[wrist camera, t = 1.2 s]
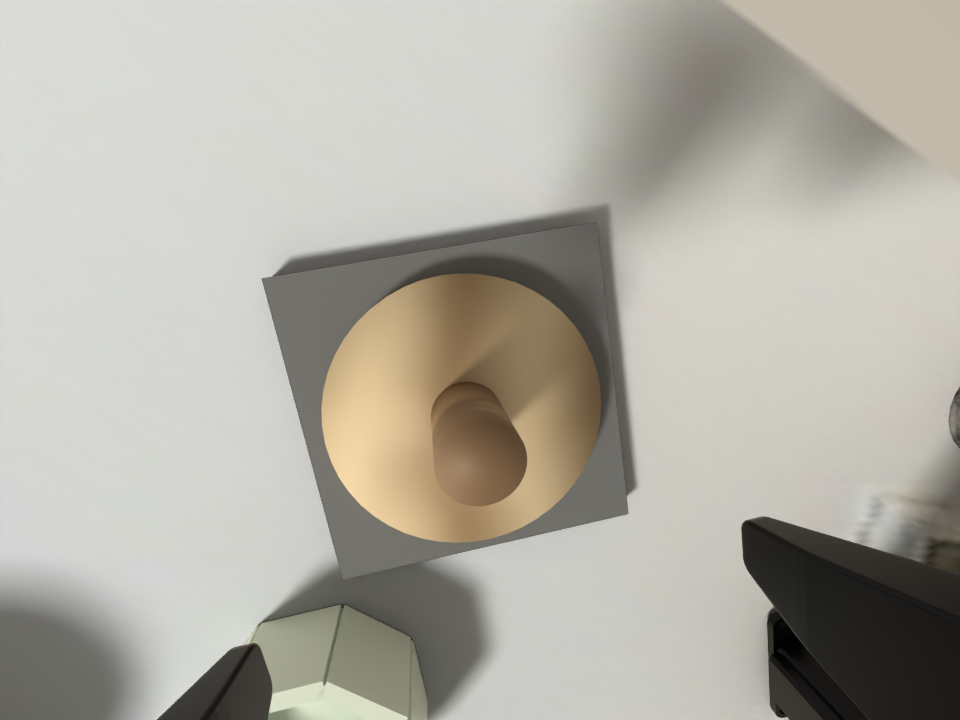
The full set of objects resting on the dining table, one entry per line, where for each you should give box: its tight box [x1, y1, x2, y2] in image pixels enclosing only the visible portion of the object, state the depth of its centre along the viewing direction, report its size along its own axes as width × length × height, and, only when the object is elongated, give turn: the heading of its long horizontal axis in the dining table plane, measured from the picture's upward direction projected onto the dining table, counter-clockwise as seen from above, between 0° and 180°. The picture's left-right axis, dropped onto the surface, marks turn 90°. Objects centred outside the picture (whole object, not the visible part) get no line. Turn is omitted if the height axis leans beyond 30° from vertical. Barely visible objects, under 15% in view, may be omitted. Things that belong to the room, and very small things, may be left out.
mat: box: [262, 222, 628, 580], centre depth 19 cm, size 13×13×1 cm
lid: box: [321, 273, 601, 543], centre depth 16 cm, size 11×11×5 cm
